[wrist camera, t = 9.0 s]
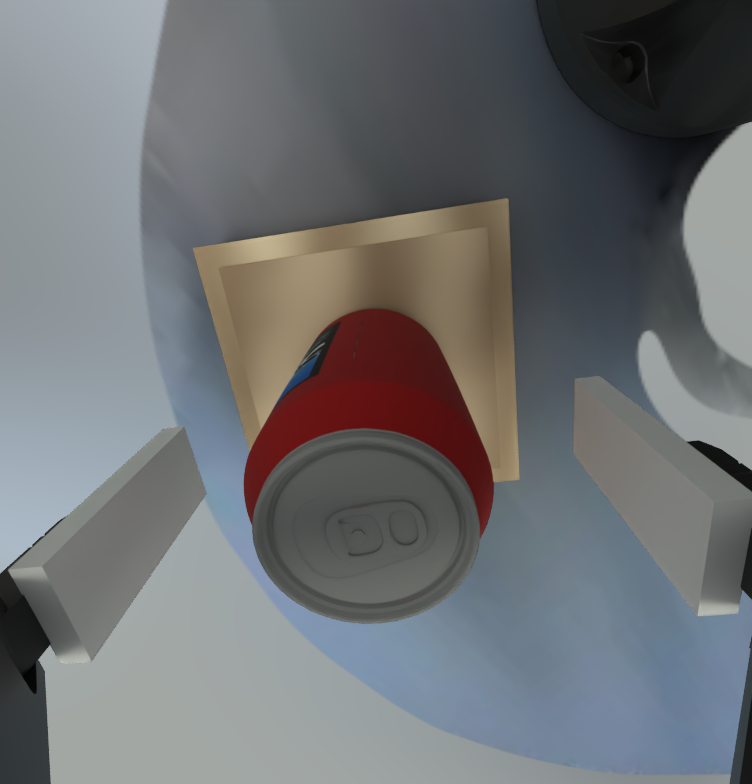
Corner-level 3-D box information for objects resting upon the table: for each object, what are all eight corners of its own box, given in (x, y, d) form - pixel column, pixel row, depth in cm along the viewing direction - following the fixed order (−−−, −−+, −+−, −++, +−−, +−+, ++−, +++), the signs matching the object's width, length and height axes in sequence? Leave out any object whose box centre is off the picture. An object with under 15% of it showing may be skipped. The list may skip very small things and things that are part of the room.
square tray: (487, 201, 23) (510, 197, 19) (501, 444, 28) (520, 482, 24) (223, 243, 24) (190, 248, 20) (281, 471, 29) (264, 511, 25)
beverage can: (289, 322, 21) (176, 440, 10) (431, 290, 20) (491, 375, 9) (326, 447, 23) (271, 661, 12) (455, 422, 22) (526, 623, 11)
